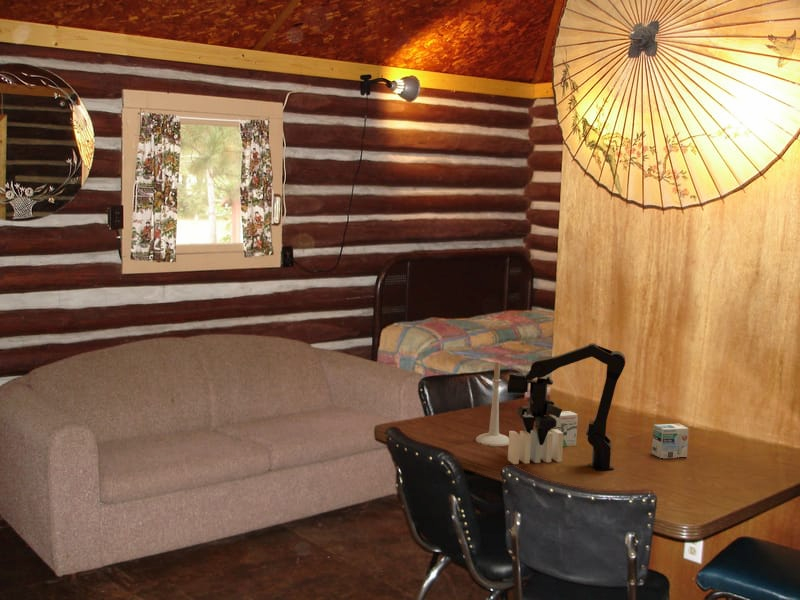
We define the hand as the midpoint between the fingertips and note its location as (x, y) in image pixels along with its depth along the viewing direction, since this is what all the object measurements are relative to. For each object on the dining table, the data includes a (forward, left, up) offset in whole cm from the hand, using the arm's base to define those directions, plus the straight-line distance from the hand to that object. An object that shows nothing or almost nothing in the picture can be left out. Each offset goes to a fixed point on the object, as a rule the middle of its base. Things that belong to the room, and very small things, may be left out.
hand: (535, 441), depth 305 cm
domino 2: (0, +4, -7) cm, 8 cm away
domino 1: (0, +8, -7) cm, 10 cm away
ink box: (+17, -19, -7) cm, 26 cm away
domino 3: (0, 0, -7) cm, 7 cm away
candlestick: (+25, +5, -7) cm, 26 cm away
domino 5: (0, -8, -7) cm, 11 cm away
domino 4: (0, -4, -7) cm, 8 cm away
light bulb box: (-2, -51, -7) cm, 52 cm away
